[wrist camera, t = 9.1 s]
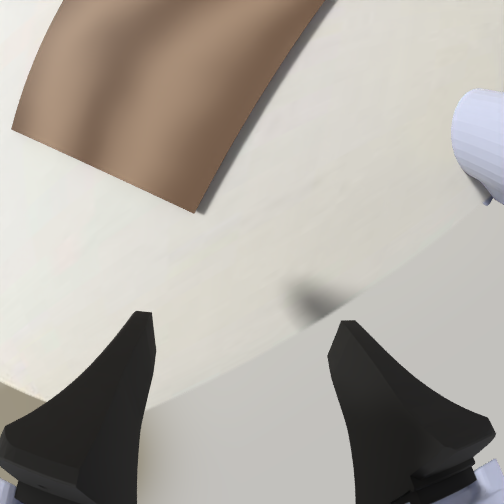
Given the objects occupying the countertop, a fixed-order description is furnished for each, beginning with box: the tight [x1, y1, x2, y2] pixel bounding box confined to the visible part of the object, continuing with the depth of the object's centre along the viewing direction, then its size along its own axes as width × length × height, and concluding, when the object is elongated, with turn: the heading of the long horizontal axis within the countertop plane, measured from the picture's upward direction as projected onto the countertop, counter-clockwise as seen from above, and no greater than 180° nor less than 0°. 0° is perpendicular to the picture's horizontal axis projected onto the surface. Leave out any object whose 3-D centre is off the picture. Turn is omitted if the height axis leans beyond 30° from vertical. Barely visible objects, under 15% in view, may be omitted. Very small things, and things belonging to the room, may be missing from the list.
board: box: [11, 0, 325, 213], centre depth 13 cm, size 14×18×1 cm
